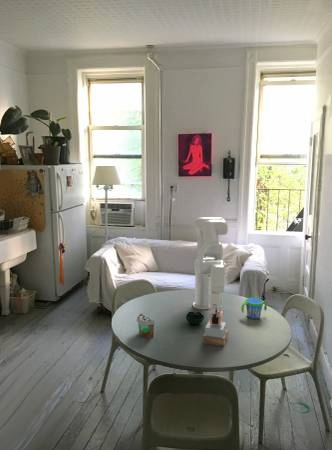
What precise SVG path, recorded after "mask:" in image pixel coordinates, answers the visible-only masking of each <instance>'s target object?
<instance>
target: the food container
mask: <svg viewBox="0 0 332 450" xmlns="http://www.w3.org/2000/svg"><path fill="white" fill-rule="evenodd" d="M136 322H137V324H138V325H137V326H138V333H139V337H141V338H143V337H146V338H145V339H150V338H149V337H152V338H154V330H155V324H156V323H155V320H154V319H153V320H152V319H150V318H149V317H147V316H145V315H143V313H142V312H141V313H139V314H138V315H137V317H136Z"/></svg>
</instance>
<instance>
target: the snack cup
mask: <svg viewBox="0 0 332 450" xmlns="http://www.w3.org/2000/svg"><path fill="white" fill-rule="evenodd" d="M263 305H264V307H263ZM245 306H246V315H247V317H248V318H250V319H253V320H255V319H256V320H257V319H260V317H261V315H262V311H263V310H264V311H267V310H268V308H267V307H268V306H267V303H266V301H264V300H263V299H261V298H259V297H248V298H246V299H245V300H244V302H243V303H242V305H241V309H240V310H241V312H242V313H245V312H244V309H245ZM262 309H263V310H262Z"/></svg>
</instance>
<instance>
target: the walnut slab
mask: <svg viewBox="0 0 332 450" xmlns="http://www.w3.org/2000/svg"><path fill="white" fill-rule="evenodd" d="M228 337H229V329H228V328H226V331H225V334H224V336H223V338H218V337H211V336H205V332H204V333H203V336H202V344H207V345H212V346H213V345H214V346H221V347H225V345H226V342H227V340H228Z"/></svg>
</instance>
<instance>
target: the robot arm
mask: <svg viewBox="0 0 332 450" xmlns="http://www.w3.org/2000/svg"><path fill="white" fill-rule="evenodd" d="M193 221H194V223H193V226H194V229H195V232H196V236H197V239H196V253H197V258H196V259H195V260H194V262H193V267H194V268H193V269H194V275H195V278H194V279H195V280H194V281H195V284H194V289H195V292H194V293H195V296H194V301H193V302H192V307H193V308H194V309H197V310H209V312H212V310H213V312H212V324H218V312H219V311H222V306H223V299H224V298H223V297H224V293H225V292H226V291H225V287H226V269H227V264H226V263H225V261H224V259H223V258H224V256H223V254H224V248H223V247H224V246H223V244H222V243H221V242H220V240H219V239H220V238H219V236H225V235H227V234H228V231H229V226H228V223H227V221H226V219H224V218H223V217H220V216H219V217H217V216H216V217H215V216H214V217H212V216H207V217H206V216H205V217H204V216H203V217H196V218H195V219H194V220H193ZM216 310H217V311H216ZM215 312H217V314H216V313H215Z"/></svg>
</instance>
